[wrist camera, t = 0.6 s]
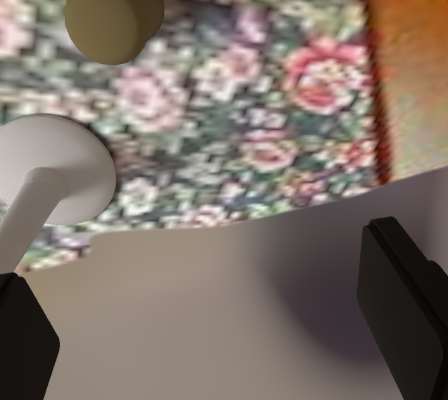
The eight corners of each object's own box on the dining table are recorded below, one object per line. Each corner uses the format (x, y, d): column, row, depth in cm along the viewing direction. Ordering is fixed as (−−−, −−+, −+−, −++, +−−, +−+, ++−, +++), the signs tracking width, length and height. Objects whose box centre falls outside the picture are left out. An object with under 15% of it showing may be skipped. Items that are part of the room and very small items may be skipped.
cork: (177, -6, 32) (172, 10, 23) (143, 57, 35) (126, 95, 25) (110, -55, 30) (74, -58, 21) (79, 16, 32) (35, 42, 23)
